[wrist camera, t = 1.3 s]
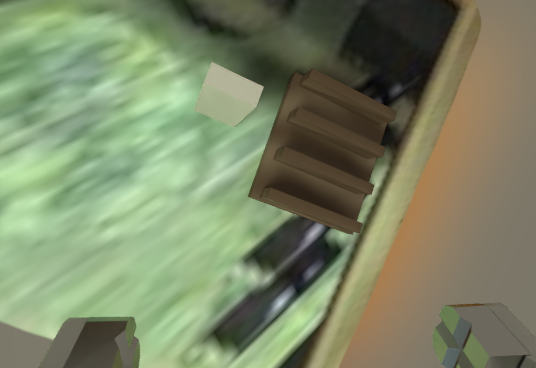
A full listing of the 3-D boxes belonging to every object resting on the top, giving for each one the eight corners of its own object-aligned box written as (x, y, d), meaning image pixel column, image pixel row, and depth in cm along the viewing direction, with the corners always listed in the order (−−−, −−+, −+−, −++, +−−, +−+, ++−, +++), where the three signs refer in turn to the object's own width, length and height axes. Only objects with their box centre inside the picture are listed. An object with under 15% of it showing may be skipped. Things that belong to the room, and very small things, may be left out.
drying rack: (346, 233, 44) (366, 237, 40) (247, 196, 41) (258, 196, 36) (381, 120, 46) (403, 113, 42) (290, 75, 43) (305, 62, 38)
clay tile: (233, 127, 40) (256, 106, 31) (193, 110, 39) (203, 82, 29) (239, 112, 41) (263, 86, 31) (199, 94, 39) (211, 62, 30)
